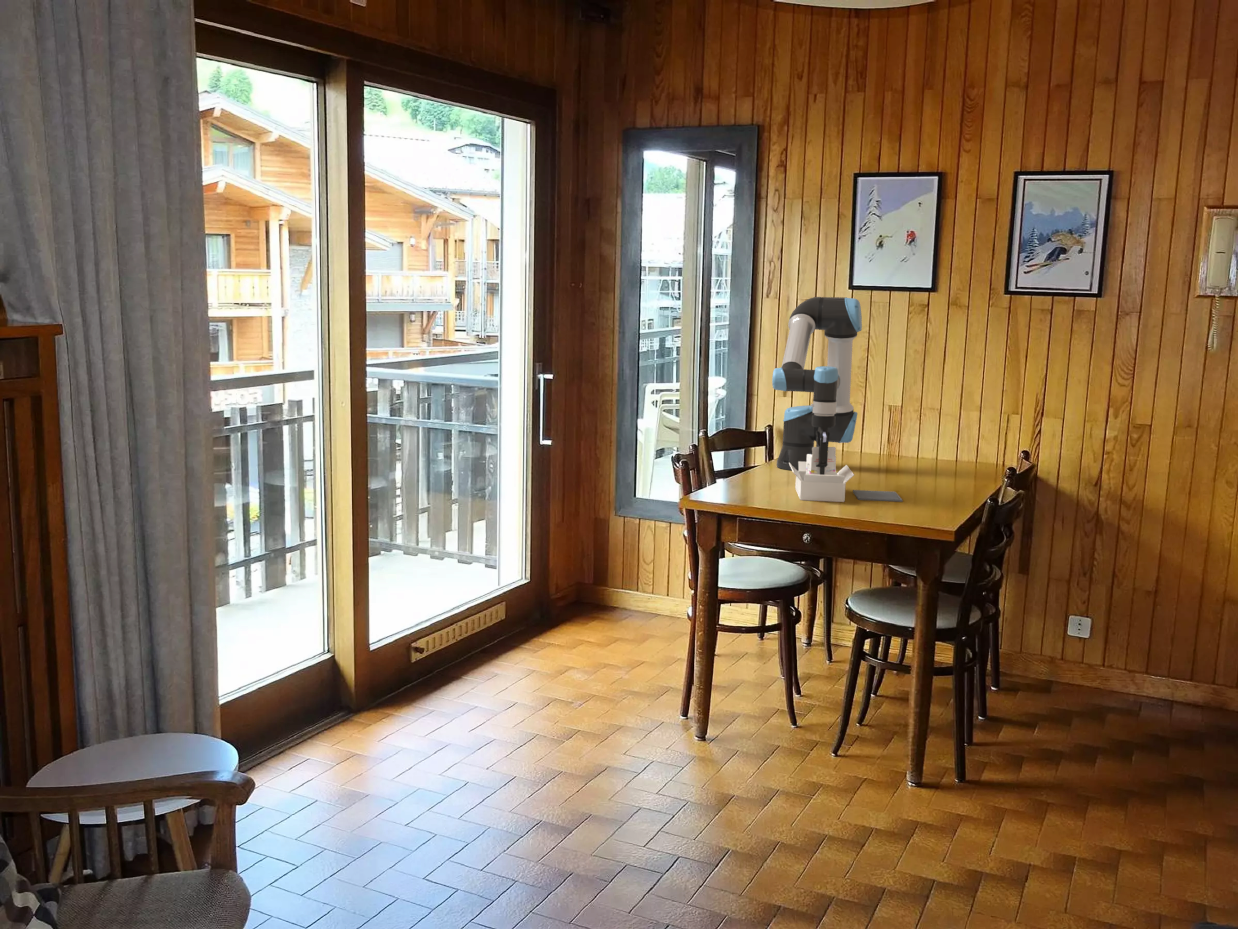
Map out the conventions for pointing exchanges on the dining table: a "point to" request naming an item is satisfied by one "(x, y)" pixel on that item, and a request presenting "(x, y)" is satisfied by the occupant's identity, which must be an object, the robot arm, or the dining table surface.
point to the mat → (877, 495)
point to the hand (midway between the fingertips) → (819, 484)
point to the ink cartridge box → (814, 460)
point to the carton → (821, 484)
